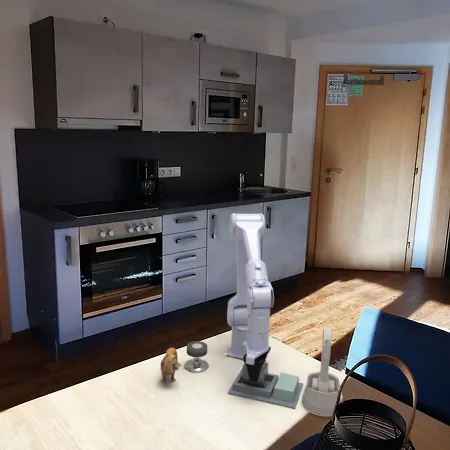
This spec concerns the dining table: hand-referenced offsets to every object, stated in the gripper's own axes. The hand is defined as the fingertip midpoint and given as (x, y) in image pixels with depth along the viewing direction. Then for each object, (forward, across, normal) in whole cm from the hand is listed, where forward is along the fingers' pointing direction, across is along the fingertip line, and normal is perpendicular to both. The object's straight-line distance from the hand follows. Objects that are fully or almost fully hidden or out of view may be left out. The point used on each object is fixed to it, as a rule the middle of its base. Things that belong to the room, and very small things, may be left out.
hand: (256, 376), depth 127 cm
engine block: (+2, 0, 0) cm, 2 cm away
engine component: (+3, +1, +18) cm, 18 cm away
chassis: (+3, 0, +3) cm, 4 cm away
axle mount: (+3, -4, -19) cm, 20 cm away
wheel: (-1, -4, -19) cm, 19 cm away
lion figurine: (+3, +4, -24) cm, 24 cm away
